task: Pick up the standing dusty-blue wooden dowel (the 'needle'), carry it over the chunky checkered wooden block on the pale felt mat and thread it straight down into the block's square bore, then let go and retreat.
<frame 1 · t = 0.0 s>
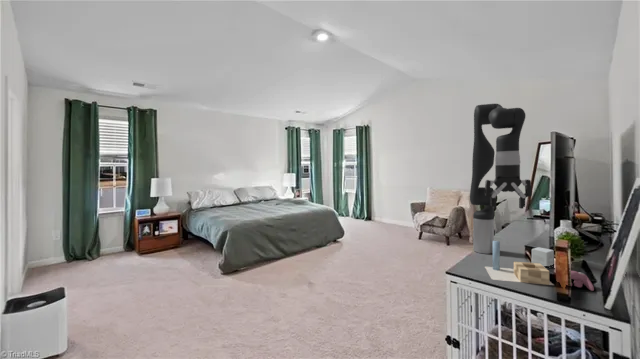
hand: (507, 208, 106), 29 cm above the tv stand, fingers open, 8 cm apart
checkered wooden block: (530, 278, 112), resting on felt mat
product box: (542, 266, 127), on the tv stand
dowel: (496, 269, 123), resting on felt mat
felt mat: (516, 275, 116), on the tv stand
video game controller: (573, 288, 104), on the tv stand
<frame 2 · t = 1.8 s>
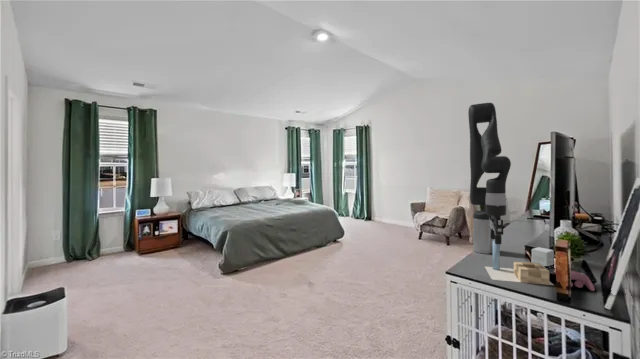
hand: (495, 241, 122), 12 cm above the tv stand, fingers open, 8 cm apart
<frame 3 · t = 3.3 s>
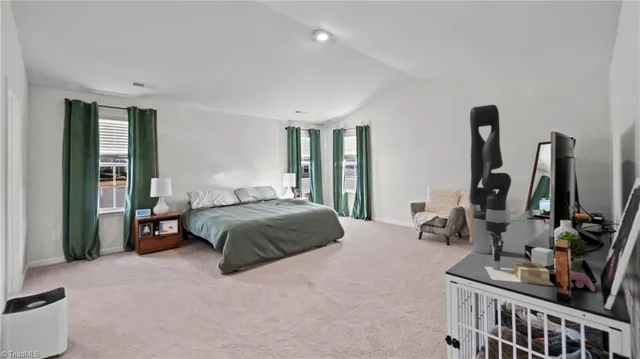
hand: (496, 259, 123), 4 cm above the tv stand, fingers closed on dowel, 2 cm apart
dowel: (496, 269, 123), resting on felt mat, touching gripper
everything else where it was.
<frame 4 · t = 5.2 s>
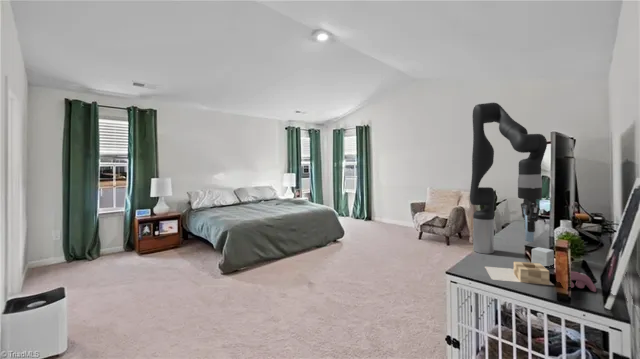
hand: (529, 230, 111), 19 cm above the tv stand, fingers closed on dowel, 2 cm apart
dowel: (529, 241, 111), point 15 cm above the tv stand, touching gripper
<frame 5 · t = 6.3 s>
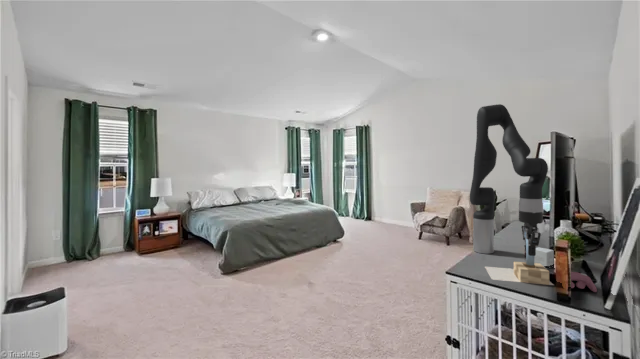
hand: (530, 254, 112), 10 cm above the tv stand, fingers closed on dowel, 2 cm apart
dowel: (530, 264, 112), point 6 cm above the tv stand, touching gripper
when the fingers open (7 cm above the tv stand, at t = 7.3 s): dowel drops 2 cm, resting on felt mat.
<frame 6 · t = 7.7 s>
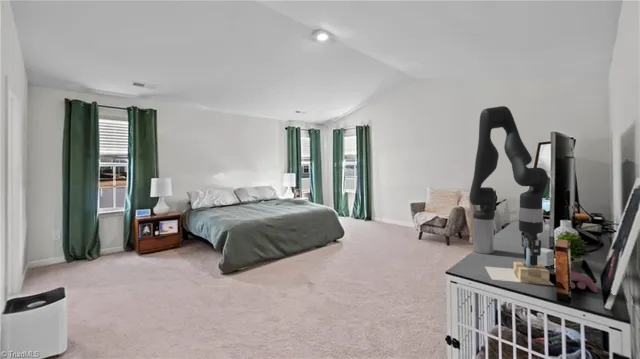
hand: (530, 262, 112), 7 cm above the tv stand, fingers open, 6 cm apart
dowel: (530, 278, 112), resting on felt mat
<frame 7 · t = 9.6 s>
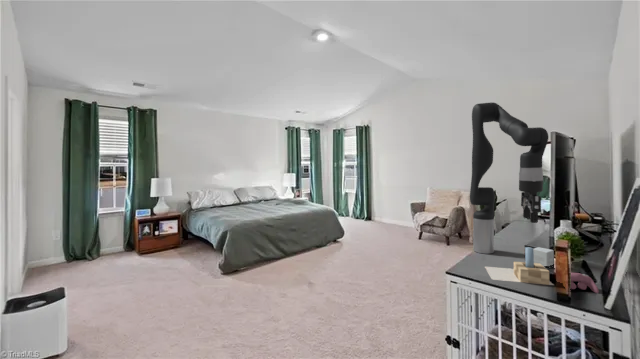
hand: (530, 220, 113), 23 cm above the tv stand, fingers open, 8 cm apart
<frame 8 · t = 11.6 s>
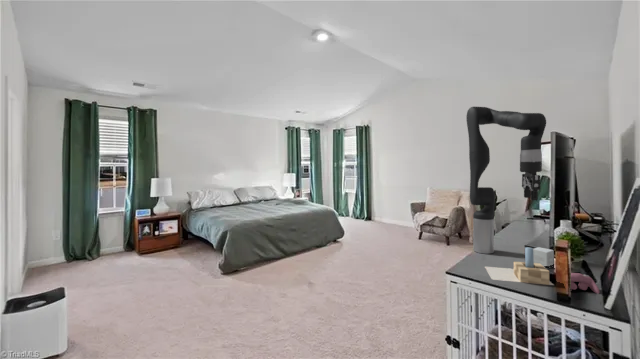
hand: (530, 198, 122), 30 cm above the tv stand, fingers open, 8 cm apart
at the end: dowel 0.1 cm off-centre on the checkered wooden block, point 0.0 cm above the checkered wooden block's base; dowel tilted 2°; the gripper is holding nothing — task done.
